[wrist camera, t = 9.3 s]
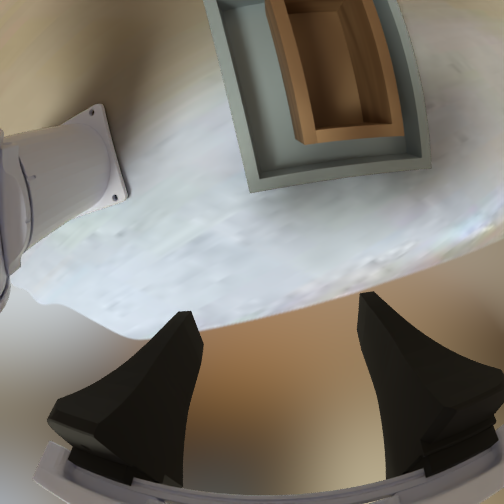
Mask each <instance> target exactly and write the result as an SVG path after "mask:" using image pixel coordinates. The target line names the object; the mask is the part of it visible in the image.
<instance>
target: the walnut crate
mask: <svg viewBox="0 0 504 504" xmlns="http://www.w3.org/2000/svg"><path fill="white" fill-rule="evenodd" d="M265 13H266V17H267V20H268V24H269V27H270V31H271V35H272V38H273V42H274V46H275V50H276V54H277V58H278V62H279V66H280V70H281V74H282V79H283V83H284V87H285V92H286V96H287V101H288V106H289V110H290V115H291V120H292V125H293V130H294V135H295V139H296V140H298V141H299V142H301V143H302V144H304V145H309V144H316V143H324V142H332V141H342V140H352V139H363V138H376V137H393V136H405V135H404V127H403V119H402V113H401V106H400V100H399V94H398V89H397V84H396V79H395V74H394V70H393V66H392V61H391V57H390V53H389V50H388V46H387V42H386V39H385V35H384V32H383V29H382V26H381V23H380V20H379V17H378V14H377V11H376V8H375V5H374V3H373V0H265Z"/></svg>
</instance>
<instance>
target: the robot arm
mask: <svg viewBox="0 0 504 504" xmlns="http://www.w3.org/2000/svg"><path fill="white" fill-rule="evenodd" d="M93 110H94V115H92V111H93ZM115 195H117V197H118V200H117V199H116V198H115ZM127 197H128V194H127V190H126V187H125V184H124V181H123V177H122V174H121V171H120V167H119V164H118V160H117V157H116V153H115V150H114V146H113V142H112V138H111V134H110V130H109V126H108V122H107V118H106V113H105V109H104V106H103V105H102V104H95V105H93V106H91V107H90V108H88V109H86V110H84V111H83V112H81V113H79V114H77V115H76V116H74V117H72V118H71V119H69V120H68V121H66V122H64V123H63V124H61V125H60V126H54V127H48V128H43V129H37V130H32V131H27V132H23V133H18V134H14V135H10V136H6V137H4V132H3V130H2V129H1V128H0V312H1V311H2V310H3V308H4V307H5V305H6V303H7V301H8V298H9V295H10V287H11V285H10V277H9V276H10V275H11V274H13V273H14V272H15V271H16V270H17V269H19V268H20V267H21V256H22V254H23V253H24V252H25V251H27V250H28V249H29V248H31V247H32V246H34V245H35V244H36V243H38V242H39V241H40V240H42V239H43V238H45V237H46V236H48V235H49V234H50V233H52V232H53V231H55V230H56V229H58V228H59V227H61V226H62V225H64V224H65V223H67V222H68V221H70V220H72V219H75V218H77V217H80V216H83V215H86V214H89V213H91V212H94V211H97V210H100V209H103V208H106V207H109V206H112V205H115V204H118V203H122V202H124V201H125V200H126V199H127ZM357 332H358V337H359V341H360V346H361V350H362V353H363V355H364V359H365V361H366V364H367V367H368V370H369V373H370V375H371V379H372V382H373V385H374V388H375V391H376V395H377V399H378V404H379V409H380V415H381V421H382V429H383V436H384V447H385V459H386V460H385V461H386V480H383V481H379V482H375V483H371V484H367V485H362V486H357V487H352V488H346V489H340V490H334V491H326V492H319V493H309V494H296V495H270V496H268V495H263V496H261V495H234V494H221V493H211V492H203V491H196V490H189V489H183V488H182V487H183V451H184V440H185V430H186V422H187V415H188V410H189V406H190V402H191V398H192V394H193V391H194V387H195V384H196V380H197V377H198V373H199V369H200V366H201V361H202V353H203V345H204V344H203V341H202V338H201V336H200V333H199V331H198V328H197V325H196V323H195V320H194V317H193V315H192V312H191V311H182V312H178V313H177V314H176V315H174V316H173V317H172V318H171V319H170V320H169V321H168V323H167V324H166V325H165V326H164V327H163V328H162V329H161V330H160V331H159V332H158V333H157V334H156V335H155V336H154V337H153V338H152V339H151V340H150V341H149V342H148V343H147V344H146V345H145V346H143V347H142V348H141V349H140V350H139V351H138V352H137V353H136V354H135V355H134V356H132V357H131V358H130V359H129V360H128V361H126V362H125V363H124V364H123V365H121V366H120V367H119V368H117V369H116V370H114V371H113V372H111V373H110V374H108V375H107V376H105V377H104V378H102V379H101V380H99V381H97V382H95V383H94V384H92V385H90V386H88V387H86V388H84V389H82V390H80V391H77V392H75V393H73V394H70V395H68V396H65V397H63V398H60V399H58V400H57V401H56V403H55V405H54V407H53V409H52V411H51V413H50V415H49V417H48V419H47V422H48V425H49V426H50V427H51V428H52V429H53V430H54V431H55V432H56V433H57V434H58V435H59V436H61V437H62V438H63V439H64V440H65V441H67V442H68V443H69V444H70V445H72V446H73V448H72V450H71V451H70V450H68V449H66V448H64V447H63V446H60V445H58V444H56V443H54V442H52V441H49V442H48V444H47V446H46V448H45V450H44V452H43V455H42V457H41V459H40V461H39V464H38V466H37V468H36V471H35V473H34V476H33V478H32V479H33V481H34V482H36V483H37V484H38V485H40V486H41V487H43V488H44V489H46V490H48V491H49V492H50V493H52V494H54V495H55V496H57V497H58V498H60V499H61V500H63V501H64V502H66V503H68V504H167V503H165V502H168V503H172V504H364V503H368V502H373V501H376V502H373V503H369V504H479V503H481V502H483V501H484V500H486V499H488V498H489V497H491V496H492V495H494V494H495V493H496V492H498V491H499V490H501V489H502V488H504V424H503V425H502V426H500V427H499V428H498V429H497V430H496V431H495V429H494V426H493V425H494V424H495V423H496V419H495V417H494V413H496V411H497V410H498V409H499V408H500V407H501V405H502V404H503V403H504V374H503V372H502V370H500V369H497V368H494V367H490V366H487V365H484V364H481V363H478V362H475V361H473V360H470V359H468V358H466V357H463V356H461V355H459V354H457V353H455V352H453V351H451V350H449V349H447V348H445V347H444V346H442V345H440V344H439V343H437V342H435V341H434V340H432V339H431V338H429V337H428V336H426V335H425V334H423V333H422V332H420V331H419V330H417V329H416V328H415V327H414V326H412V325H411V324H410V323H409V322H407V321H406V320H405V319H404V318H403V317H402V316H400V315H399V314H398V313H397V312H396V311H395V310H393V309H392V308H391V307H390V306H389V305H388V304H387V303H386V302H385V301H384V300H382V299H381V298H380V297H379V296H378V295H377V294H376V293H375V292H366V293H360V297H359V313H358V323H357ZM381 499H382V500H381ZM377 500H379V501H377Z"/></svg>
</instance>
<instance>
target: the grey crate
mask: <svg viewBox="0 0 504 504" xmlns="http://www.w3.org/2000/svg"><path fill="white" fill-rule="evenodd" d="M203 1H204V5H205V9H206V13H207V17H208V21H209V25H210V29H211V33H212V37H213V41H214V45H215V49H216V53H217V57H218V61H219V65H220V69H221V73H222V77H223V81H224V85H225V90H226V94H227V98H228V102H229V106H230V110H231V115H232V119H233V123H234V127H235V131H236V136H237V140H238V144H239V148H240V153H241V157H242V161H243V165H244V170H245V174H246V178H247V183H248V187H249V192H250V193H255V192H260V191H266V190H271V189H277V188H282V187H288V186H294V185H300V184H306V183H313V182H319V181H326V180H332V179H339V178H347V177H354V176H362V175H370V174H379V173H388V172H397V171H407V170H419V169H431V168H432V167H431V151H430V140H429V130H428V122H427V114H426V108H425V102H424V96H423V90H422V85H421V80H420V76H419V71H418V67H417V63H416V59H415V55H414V51H413V48H412V44H411V41H410V37H409V34H408V31H407V28H406V25H405V22H404V19H403V16H402V14H401V11H400V8H399V6H398V3H397V1H396V0H373V3H374V5H375V8H376V11H377V14H378V17H379V20H380V23H381V26H382V29H383V32H384V35H385V39H386V42H387V46H388V50H389V53H390V57H391V61H392V66H393V70H394V74H395V79H396V84H397V89H398V94H399V100H400V106H401V113H402V119H403V127H404V135H405V136H393V137H376V138H363V139H352V140H342V141H332V142H324V143H316V144H309V145H304V144H302V143H301V142H299V141H298V140H296V139H295V135H294V130H293V125H292V120H291V115H290V110H289V106H288V101H287V96H286V92H285V87H284V83H283V79H282V74H281V70H280V66H279V62H278V58H277V54H276V50H275V46H274V42H273V38H272V35H271V31H270V27H269V24H268V20H267V17H266V13H265V0H203Z"/></svg>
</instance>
